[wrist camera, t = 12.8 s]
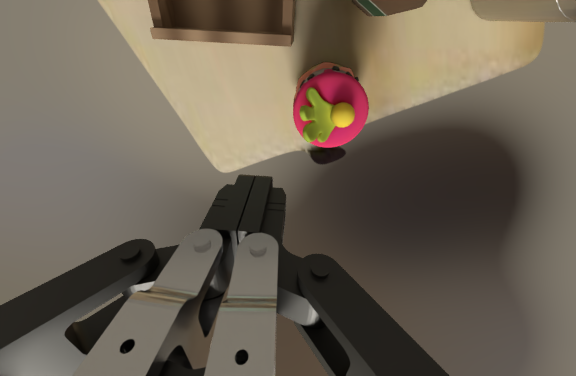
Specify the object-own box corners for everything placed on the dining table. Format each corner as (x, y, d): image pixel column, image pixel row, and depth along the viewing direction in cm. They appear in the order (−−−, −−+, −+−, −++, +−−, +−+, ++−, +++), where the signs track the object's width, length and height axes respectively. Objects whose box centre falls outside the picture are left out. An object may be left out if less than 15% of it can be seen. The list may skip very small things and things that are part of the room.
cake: (341, 45, 38) (357, 59, 26) (366, 105, 43) (390, 140, 30) (283, 82, 41) (274, 109, 29) (312, 133, 46) (315, 175, 34)
